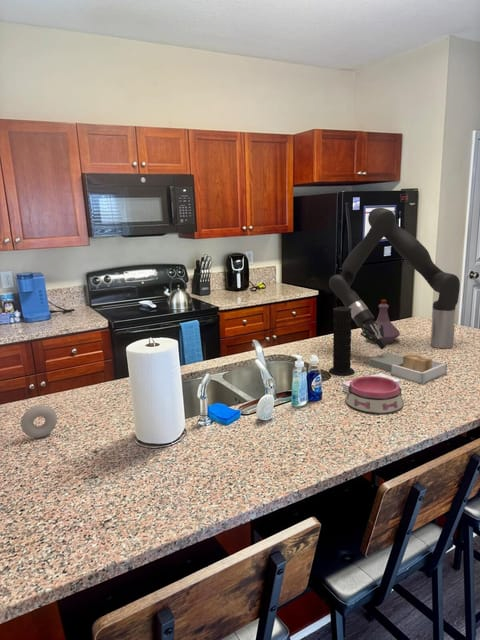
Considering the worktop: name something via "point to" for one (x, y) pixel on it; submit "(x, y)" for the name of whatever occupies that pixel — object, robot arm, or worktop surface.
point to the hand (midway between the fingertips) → (384, 347)
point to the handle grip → (342, 342)
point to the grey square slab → (386, 361)
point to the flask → (386, 324)
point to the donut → (32, 415)
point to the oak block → (417, 362)
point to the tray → (420, 377)
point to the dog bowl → (374, 395)
